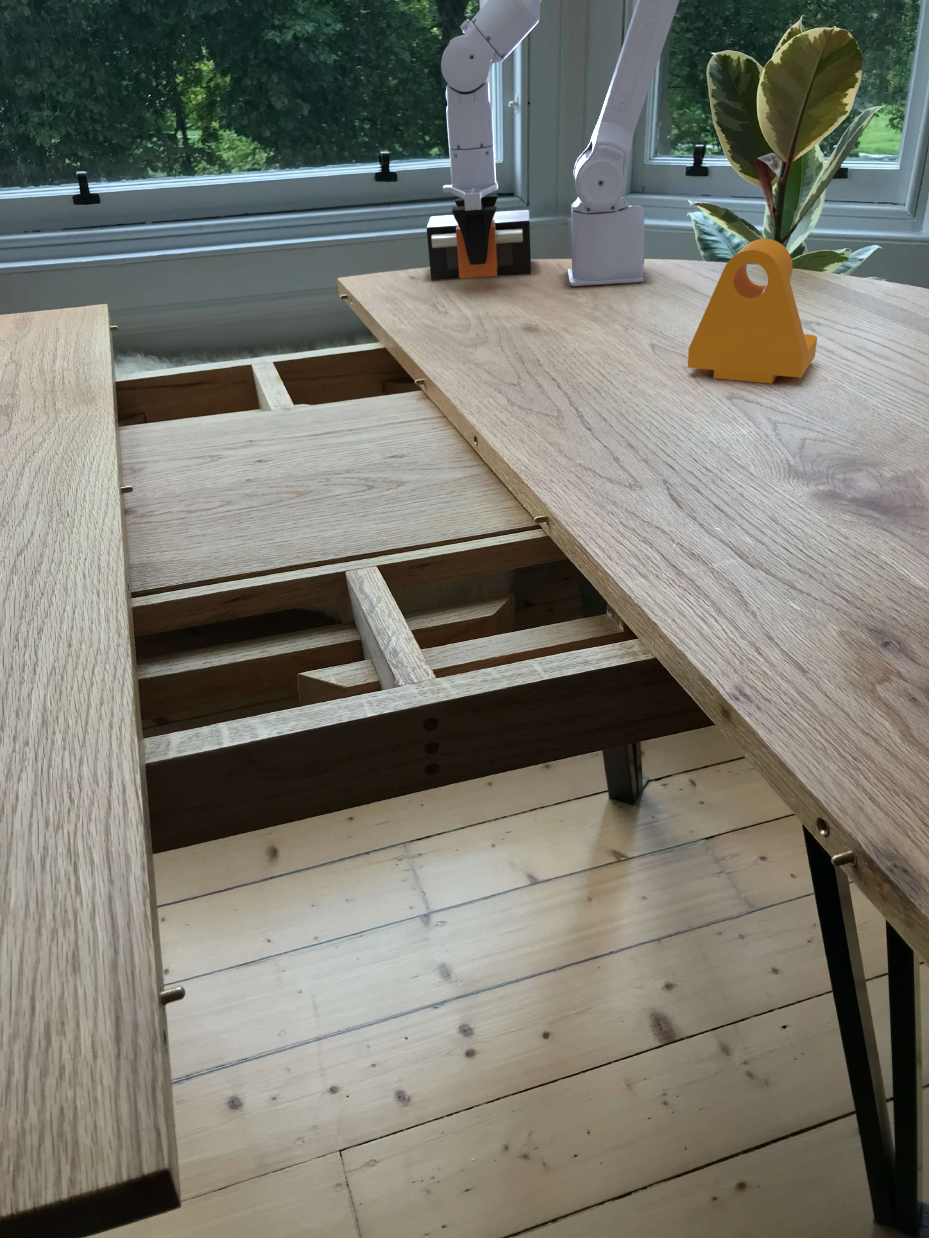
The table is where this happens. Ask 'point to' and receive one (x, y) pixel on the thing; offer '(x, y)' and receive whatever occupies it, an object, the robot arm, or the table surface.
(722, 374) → the bracket
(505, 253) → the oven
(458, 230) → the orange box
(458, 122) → the robot arm
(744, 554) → the table surface
